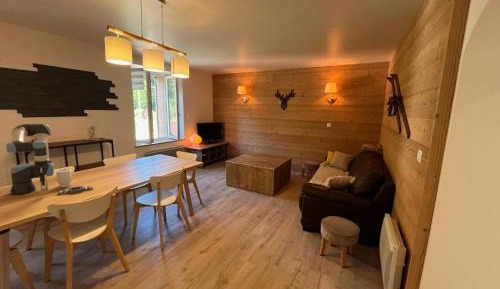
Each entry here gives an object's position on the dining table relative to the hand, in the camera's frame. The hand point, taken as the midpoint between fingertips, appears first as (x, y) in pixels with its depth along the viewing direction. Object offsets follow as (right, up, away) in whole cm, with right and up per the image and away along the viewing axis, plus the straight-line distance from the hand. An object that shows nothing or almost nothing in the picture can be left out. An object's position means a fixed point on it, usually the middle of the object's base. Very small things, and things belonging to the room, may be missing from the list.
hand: (44, 187), depth 176 cm
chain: (+16, -6, +13) cm, 21 cm away
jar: (-3, -3, +24) cm, 24 cm away
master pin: (0, -2, 0) cm, 2 cm away
